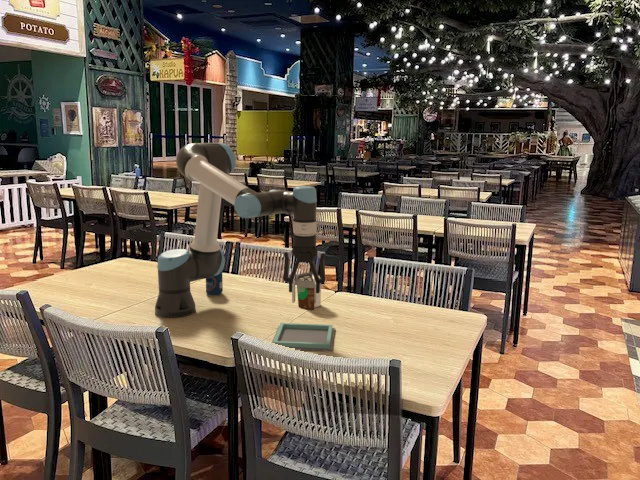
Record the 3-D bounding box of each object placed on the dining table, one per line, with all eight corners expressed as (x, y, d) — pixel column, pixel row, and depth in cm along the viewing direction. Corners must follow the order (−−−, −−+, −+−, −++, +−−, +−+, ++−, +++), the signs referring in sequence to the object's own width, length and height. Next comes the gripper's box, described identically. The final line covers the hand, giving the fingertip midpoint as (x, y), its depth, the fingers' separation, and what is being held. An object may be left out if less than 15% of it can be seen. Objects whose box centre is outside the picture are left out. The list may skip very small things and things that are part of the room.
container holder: (269, 348, 183) (269, 343, 183) (278, 327, 203) (278, 321, 202) (331, 351, 182) (331, 345, 181) (334, 329, 201) (334, 324, 201)
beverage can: (318, 309, 223) (318, 280, 220) (298, 307, 224) (298, 278, 222) (322, 303, 231) (322, 274, 228) (303, 301, 232) (303, 273, 230)
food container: (294, 300, 196) (294, 272, 194) (312, 300, 196) (312, 272, 194) (295, 312, 184) (295, 282, 182) (314, 311, 184) (314, 282, 182)
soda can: (202, 295, 239) (202, 267, 237) (211, 290, 246) (211, 264, 243) (217, 297, 237) (216, 269, 234) (225, 292, 243) (225, 265, 241)
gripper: (273, 235, 182) (273, 304, 187) (333, 236, 181) (332, 306, 185) (276, 231, 189) (277, 297, 194) (335, 232, 188) (333, 299, 193)
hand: (304, 301), depth 190 cm, fingers closed on food container, 6 cm apart
